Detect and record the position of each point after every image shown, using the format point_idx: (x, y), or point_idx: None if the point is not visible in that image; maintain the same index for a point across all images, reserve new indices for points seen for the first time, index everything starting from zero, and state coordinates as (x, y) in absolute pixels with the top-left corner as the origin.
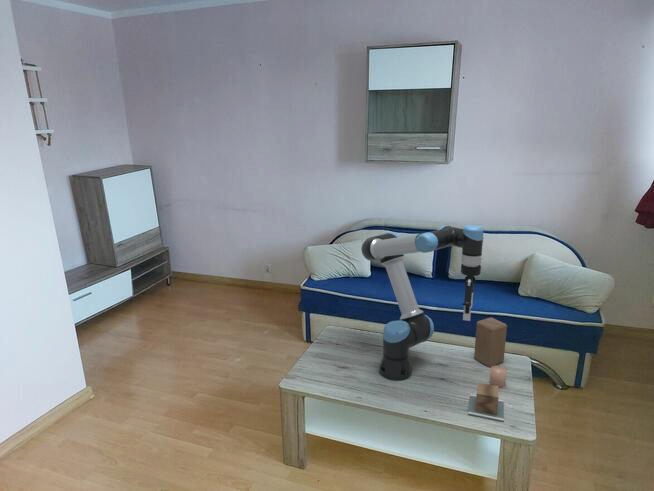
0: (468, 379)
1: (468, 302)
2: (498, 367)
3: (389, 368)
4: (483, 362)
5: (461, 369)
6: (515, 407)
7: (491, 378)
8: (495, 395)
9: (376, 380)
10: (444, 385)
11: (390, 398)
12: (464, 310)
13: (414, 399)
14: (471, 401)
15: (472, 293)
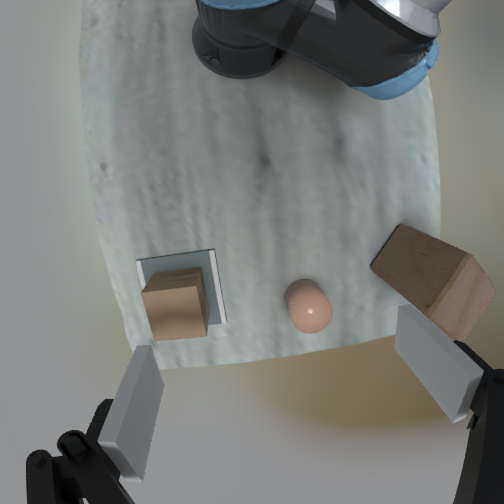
0: (292, 228)
1: (416, 344)
2: (323, 313)
3: (196, 22)
4: (381, 252)
5: (335, 201)
6: (220, 343)
7: (294, 291)
8: (158, 334)
9: (176, 14)
10: (233, 175)
11: (114, 75)
12: (116, 405)
13: (133, 125)
14: (187, 258)
15: (454, 418)
